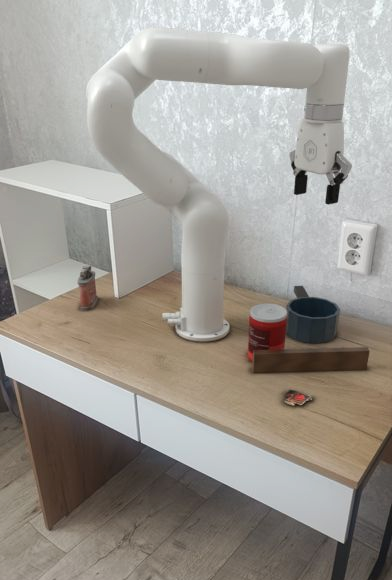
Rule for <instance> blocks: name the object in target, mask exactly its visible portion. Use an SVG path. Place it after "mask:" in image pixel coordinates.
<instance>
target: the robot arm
mask: <svg viewBox="0 0 392 580" xmlns="http://www.w3.org/2000/svg"><path fill="white" fill-rule="evenodd" d="M350 53H351V51H350V48H349V46H348V45H347V44H344V43H317V44H315V45H313V44H312V43H309V42H300V41H299V42H298V41H287V40H276V39H266V38H257V37H248V36H245V35H244V36H243V35H239V34H234V33H227V32H217V31H216V32H215V31H204V30H195V29H183V28H172V27H162V26H153V27H152V26H151V27H146V28H143V29H140V30H139V31H138V32H137V33H136V34H135V35H133V36H132V37H131V38H130V40H129V41H127V43H126V44H125V45H124V46H122V47H121V49H119V50H118V52H116V53H115V54H114V55H113V56H112V57H111V58H110V59H109V60H107V62H106V63H105V64H104V65H102V66H101V67H100V68H99V69H98V70H97V71H96V72H94V73H93V75H92V76H91V77H90V79H89V80H88V82H87V85H86V89H85V97H86V101H87V105H86V106H87V107H86V124H87V125H86V126H87V131H88V134H89V137H90V140H91V142H92V144H93V146H94V148H95V149H96V151H97V152H98V153H99V154H100V156H101V157H102V158H103V159H104V160H105V161H106V162H107V163H108V164H109V165H110V166H112V167H113V168H114V169H115V170H116V171H118V172H119V173H120V174H121V175H122V176H123V177H124V179H126V180H127V181H128V182H129V183H131V184H132V185H133V186H134V187H135V188H137V190H139V191H140V192H141V193H143V195H144V196H145V197H146V198H147V199H148V200H149V201H151V202H152V203H154V204H155V205H158V206H161V207H163V208H164V209H165V210H166V211H168V212H169V213H170V214H171V215H173V216H174V217H175V218H176V219H177V220H178V221H179V223H180V225H181V228H182V238H181V239H182V240H181V251H180V267H181V307H180V308H179V311H175V312H162V314H161V315H162V322H167V325H168V326H173V325H175V332H176V334H177V335H178V336H179V337H181V338H183V339H185V340H187V341H188V340H189V341H193V342H199V343H200V342H202V343H204V342H205V343H207V342H213V341H217V340H220V339H222V338H225V337H226V336H227V335H228V334H229V333H230V330H231V329H230V323H229V322H228V320H226V319H225V318H224V301H225V299H224V297H225V296H224V295H225V265H226V245H227V239H228V232H229V227H230V226H229V225H230V224H229V222H230V221H229V214H228V210H227V208H226V205H225V203H224V202H223V201H222V199H220V198H219V197H218V195H216V194H215V193H214V192H213V191H212V190H211V189H210V188H208V186H206V185H205V184H204V183H203V182H202V181H201V180H200V179H198V177H196V176H195V175H194V174H193V173H192V172H191V171H189V170H188V169H187V168H186V167H185V166H184V165H183V164H182V163H181V162H180V161H178V159H176V157H174V156H173V155H171V154H170V153H168V152H166V151H162V150H161V149H160V148H159V147H158V146H157V145H156V144H154V143H153V142H152V141H151V140H150V139H149V137H148V136H146V135H145V134H144V133H143V132H141V131H140V129H138V126H137V125H136V124H135V121H134V118H133V111H134V107H135V100H136V99H137V98H138V97H139V96H140V95H141V94H143V93H144V92H145V91H146V90H147V89H148V88H149V87H150V86H151V85H152V84H153V83H154V82H155V81H165V82H166V81H169V82H180V83H181V82H182V83H184V82H185V83H195V84H196V83H197V84H198V83H199V84H210V85H221V86H222V85H223V86H255V87H267V88H279V89H281V88H282V89H291V90H292V89H293V90H305V89H306V97H305V105H304V107H303V111H304V118H303V119H301V122H300V125H299V129H298V133H297V139H296V143H295V144H296V145H295V149H293V150H292V151H291V152H289V154H288V155H289V158H290V166H291V168H292V170H293V172H292V174H293V176H294V185H293V186H294V187H293V195H295V196H298V195H305V194H306V193H307V190H308V189H307V188H308V180H309V179H308V178H309V177H308V176H309V175H308V174H307V173H313V174H316V175H320V176H324V175H325V176H326V178H327V180H328V183H329V184H327V185H326V191H325V192H326V193H325V205H333V204H337V203H338V202H339V198H340V188H341V185H342V184H343V183H344V181H346V180H347V178H348V176H349V174H350V172H351V170H352V169H353V165H352V163H351V162H350V161H349V160H348V159H347V158H346V157H345V156H344V151H345V125H344V121H343V115H344V108H345V107H344V106H345V97H346V89H347V81H348V74H349V73H348V72H349V64H350V55H351V54H350Z"/></svg>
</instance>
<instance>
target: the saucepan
mask: <svg viewBox="0 0 392 580" xmlns="http://www.w3.org/2000/svg"><path fill="white" fill-rule="evenodd" d="M293 293H294V295H295V298H293V299H290V300H289V301H288V303H286V308H285V309H286V310H287V326H286V335H287V336H288V337H290V338H291V339H293V340H295V341H298V342H302V343H307V344H321V343H328V342H331V341H332V340H334V338H336V335H337V333H338V327H339V319H340V312H341V309H340V307H339V306H338V304H337V303H336V302H333V301H331V300H330V299H327V298H321V297H316V296H310V295H309V294H308V292H307V290H306V288H305V286H304V285H294V286H293Z"/></svg>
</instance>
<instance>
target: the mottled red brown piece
mask: <svg viewBox="0 0 392 580" xmlns="http://www.w3.org/2000/svg"><path fill="white" fill-rule="evenodd" d="M282 398H283V399H284V403H285V404H287V405H290V406H295V405H299V406H302V405H303V404H304V403H306V402H307V401H312V400H313V397H312V396H311V395H310V394H307V393H304V392H301V391H299V390H295V389H288V390H287V391H286V392H284V394H283V397H282Z"/></svg>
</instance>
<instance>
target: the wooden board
mask: <svg viewBox="0 0 392 580" xmlns="http://www.w3.org/2000/svg"><path fill="white" fill-rule="evenodd" d="M370 351H371V350H370V349H369V348H368V347H367V346H360V347H359V346H358V347H357V346H355V347H354V346H353V347H320V348H319V347H317V348H316V347H315V348H284V349H277V350H253V362H251V363H252V364H251V370H252V373H253V374H260V373H261V374H264V373H266V374H267V373H295V372H298V373H299V372H300V373H301V372H329V371H330V372H331V371H334V372H335V371H337V372H338V371H366V370H367V367H368V363H369V357H370Z"/></svg>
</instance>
